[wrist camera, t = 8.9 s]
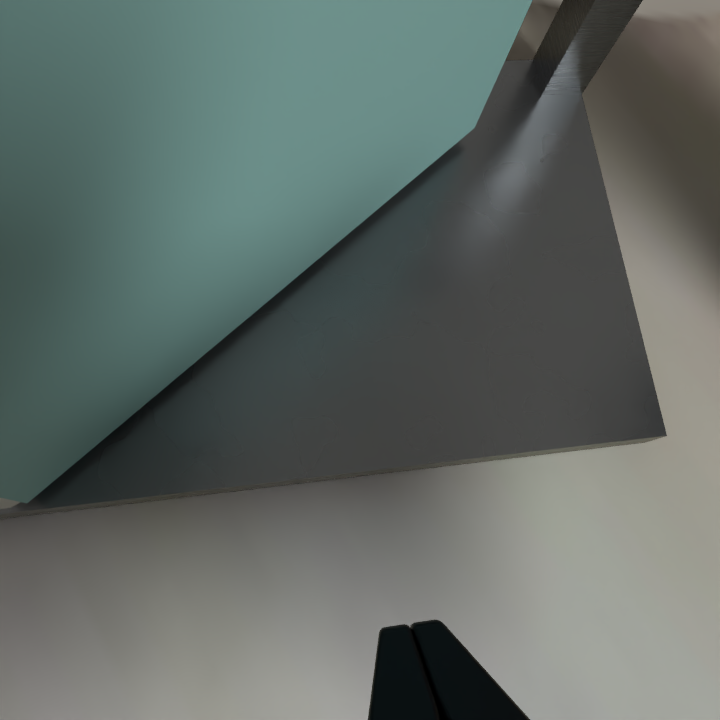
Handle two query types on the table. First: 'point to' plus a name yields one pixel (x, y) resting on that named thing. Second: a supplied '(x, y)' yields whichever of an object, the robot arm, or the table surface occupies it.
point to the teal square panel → (196, 179)
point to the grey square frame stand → (422, 321)
